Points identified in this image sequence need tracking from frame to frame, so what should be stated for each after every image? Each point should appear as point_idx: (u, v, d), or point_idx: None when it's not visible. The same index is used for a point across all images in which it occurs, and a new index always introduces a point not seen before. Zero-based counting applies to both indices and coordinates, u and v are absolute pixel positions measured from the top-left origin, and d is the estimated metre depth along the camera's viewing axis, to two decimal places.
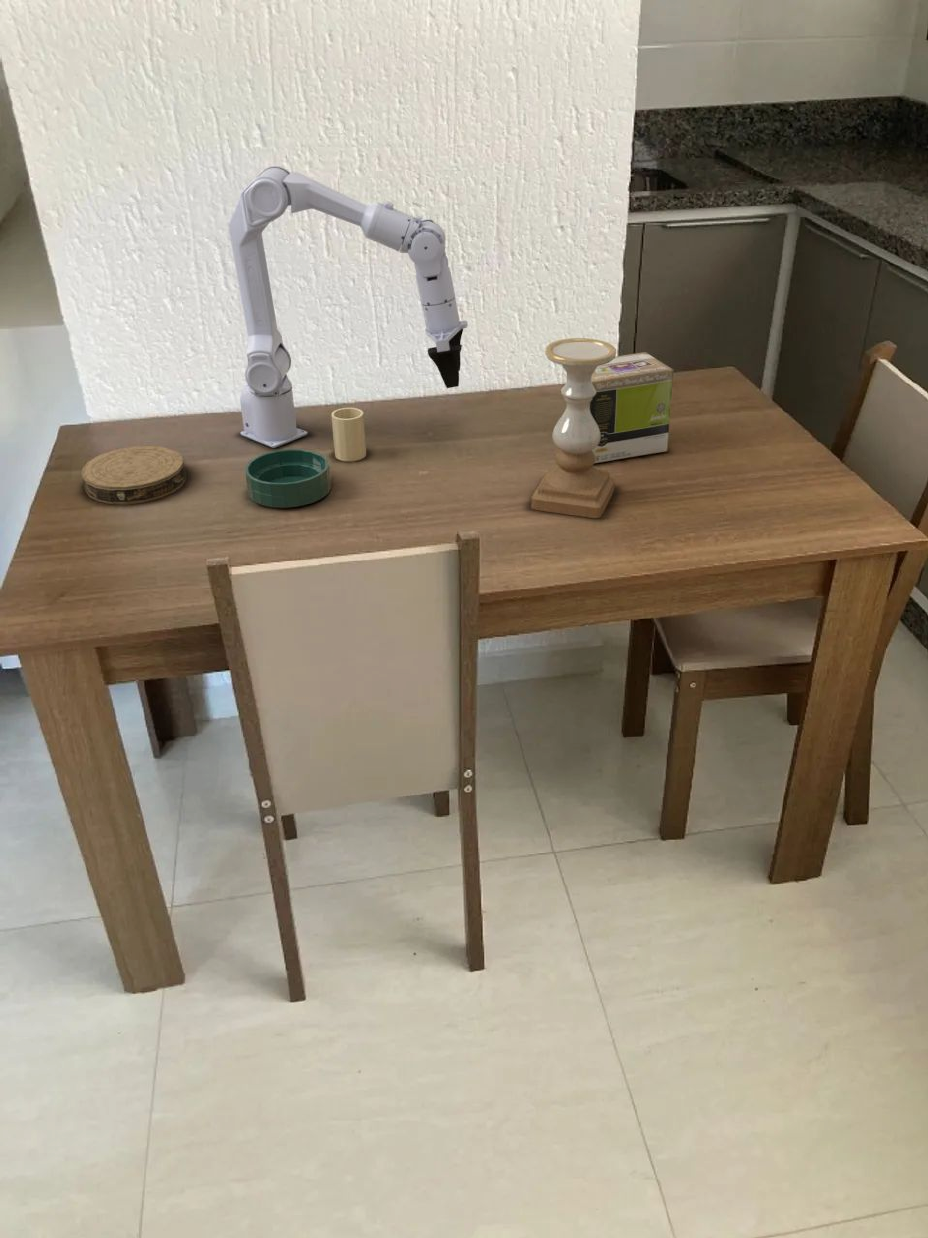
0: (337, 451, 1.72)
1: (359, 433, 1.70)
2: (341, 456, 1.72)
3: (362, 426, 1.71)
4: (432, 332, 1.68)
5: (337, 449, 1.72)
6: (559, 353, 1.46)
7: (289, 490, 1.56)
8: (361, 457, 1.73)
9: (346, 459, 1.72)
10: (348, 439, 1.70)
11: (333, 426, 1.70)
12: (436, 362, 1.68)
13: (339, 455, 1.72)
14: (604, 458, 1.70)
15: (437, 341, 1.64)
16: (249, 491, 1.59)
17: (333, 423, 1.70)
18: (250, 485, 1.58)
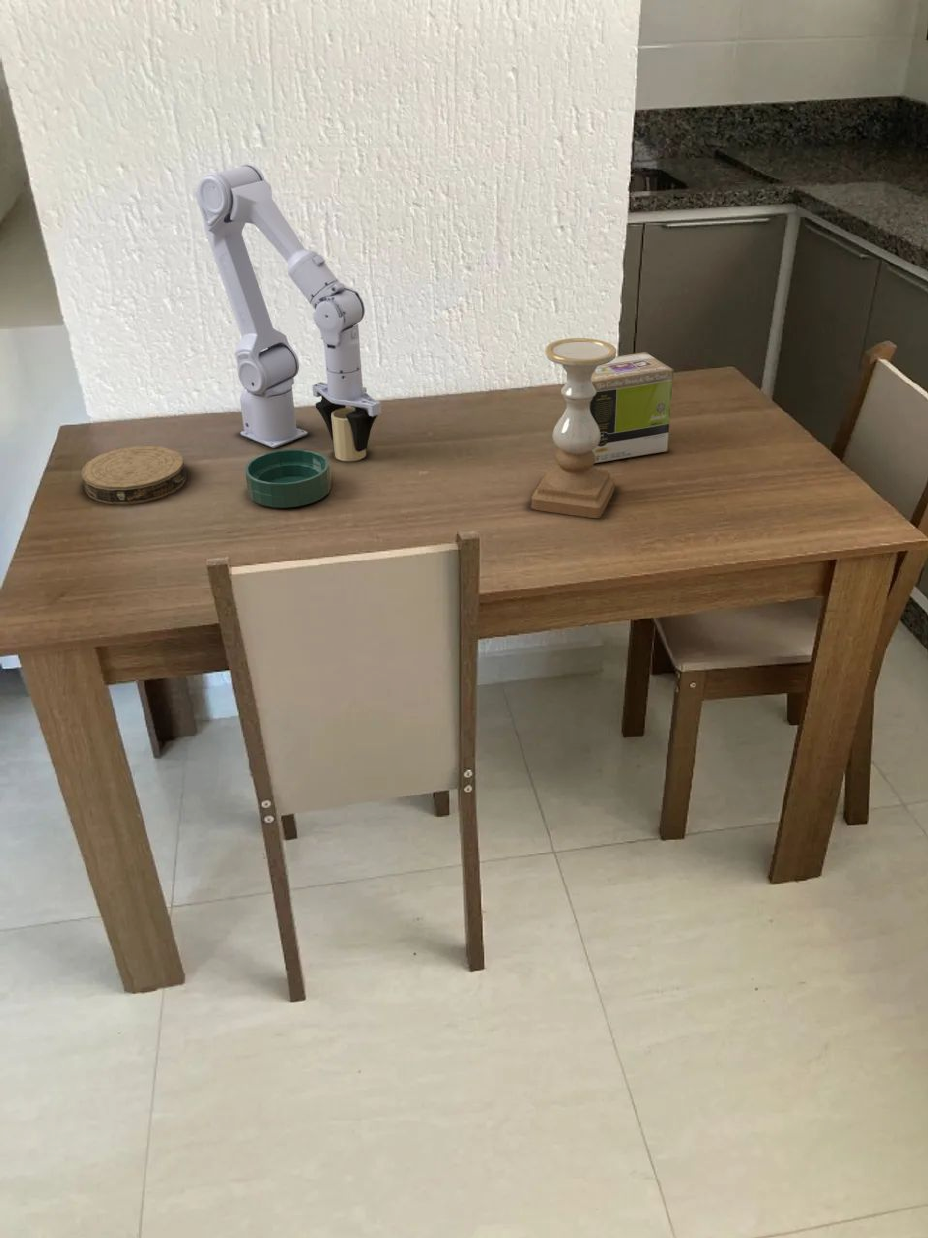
0: (337, 451, 1.72)
1: None
2: (341, 456, 1.72)
3: None
4: (348, 399, 1.66)
5: (337, 449, 1.72)
6: (559, 353, 1.46)
7: (289, 490, 1.56)
8: (361, 457, 1.73)
9: (346, 459, 1.72)
10: (348, 439, 1.70)
11: (333, 426, 1.70)
12: (358, 426, 1.67)
13: (339, 455, 1.72)
14: (604, 458, 1.70)
15: (373, 405, 1.64)
16: (249, 491, 1.59)
17: (333, 423, 1.70)
18: (250, 485, 1.58)
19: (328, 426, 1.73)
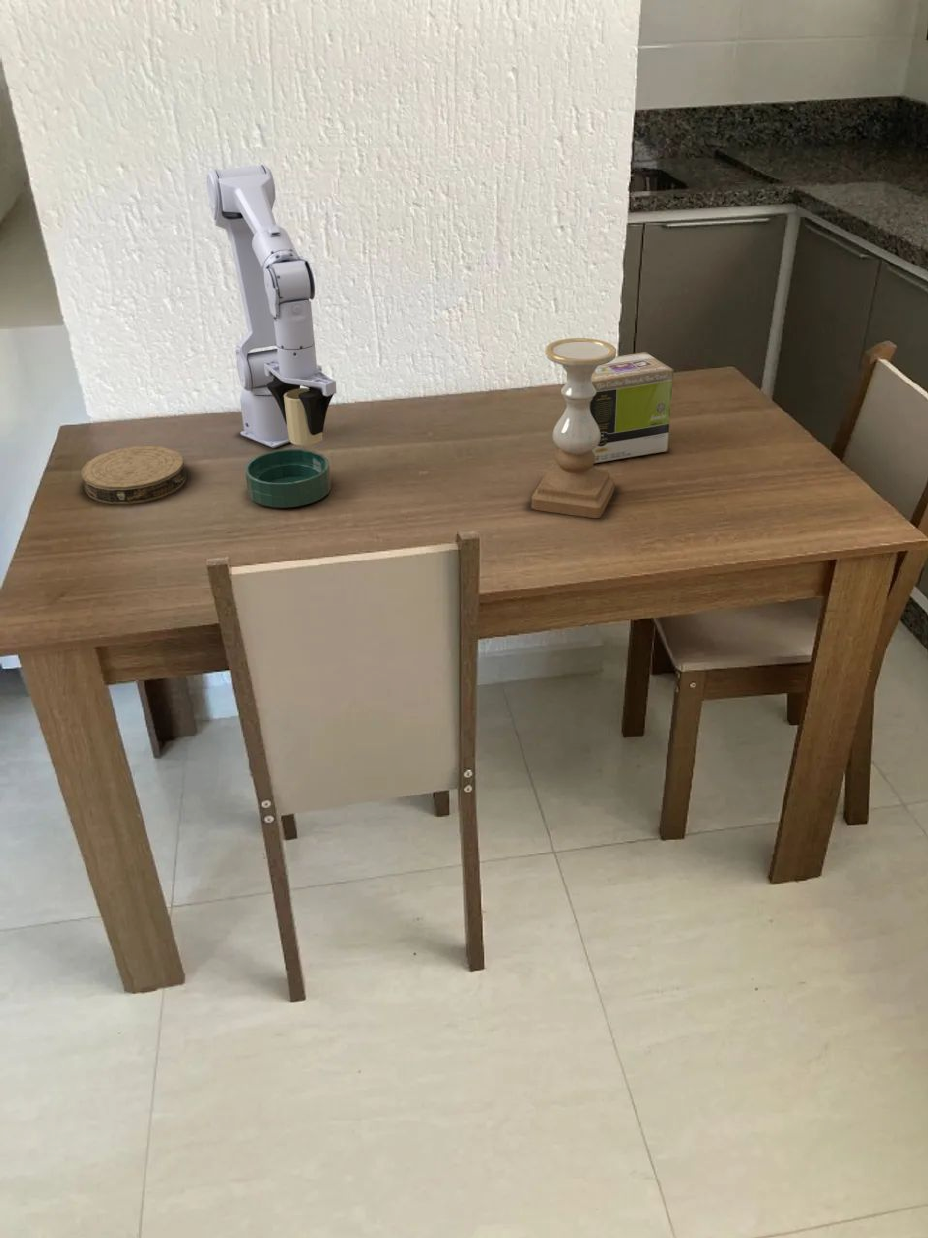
0: (291, 434, 1.60)
1: None
2: (295, 440, 1.60)
3: None
4: (300, 378, 1.54)
5: (291, 432, 1.60)
6: (559, 353, 1.46)
7: (289, 490, 1.56)
8: (317, 441, 1.61)
9: (300, 443, 1.60)
10: (302, 421, 1.58)
11: (286, 407, 1.58)
12: (312, 407, 1.55)
13: (293, 438, 1.60)
14: (604, 458, 1.70)
15: (327, 384, 1.52)
16: (249, 491, 1.59)
17: (286, 404, 1.58)
18: (250, 485, 1.58)
19: (281, 408, 1.61)
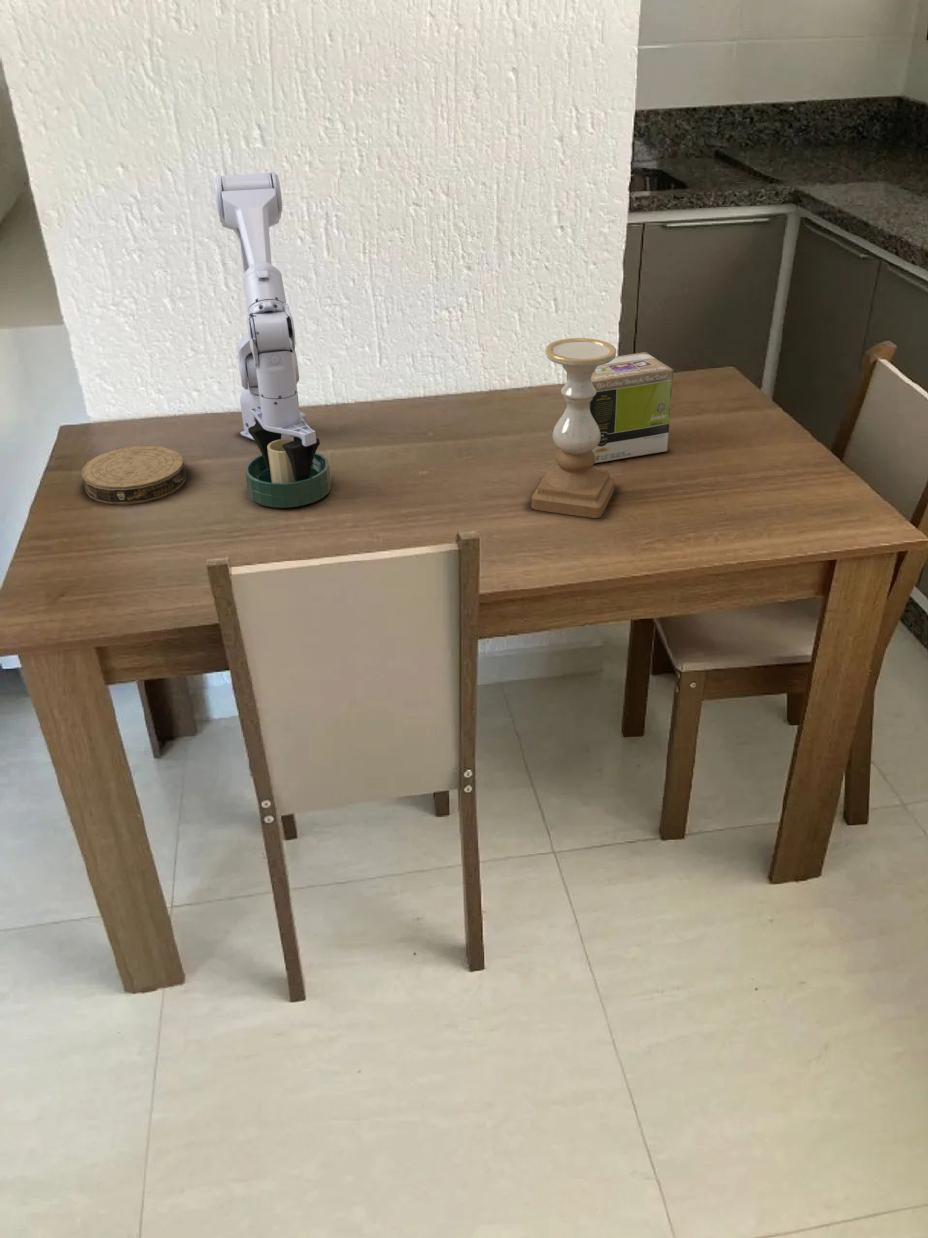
0: None
1: None
2: None
3: None
4: (281, 427, 1.54)
5: None
6: (559, 353, 1.46)
7: (289, 490, 1.56)
8: None
9: None
10: (284, 473, 1.58)
11: (269, 458, 1.59)
12: (296, 458, 1.54)
13: None
14: (604, 458, 1.70)
15: (306, 435, 1.51)
16: (249, 491, 1.59)
17: (269, 455, 1.58)
18: (250, 485, 1.58)
19: (262, 452, 1.61)
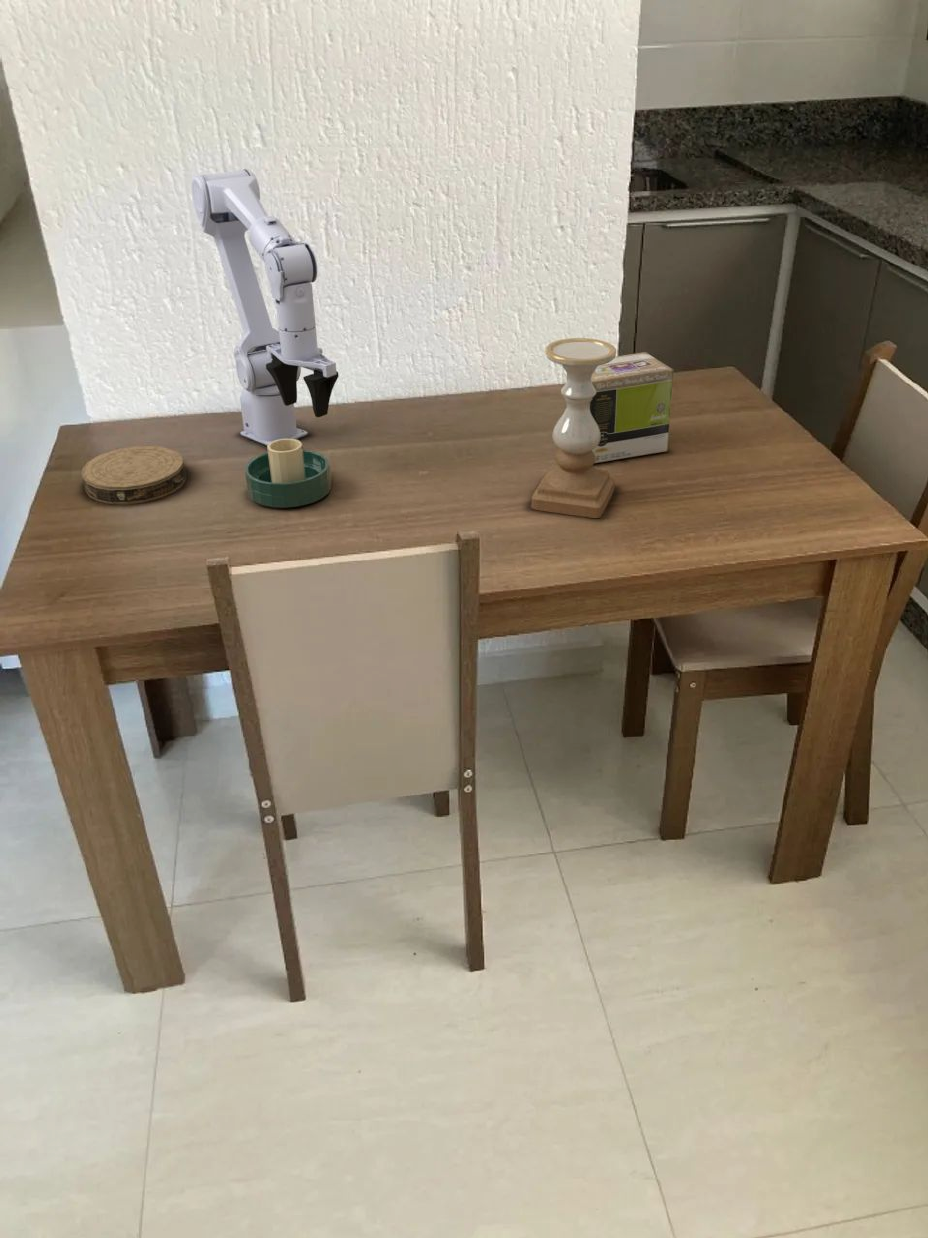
0: None
1: (296, 467, 1.58)
2: None
3: (300, 459, 1.58)
4: (302, 360, 1.58)
5: None
6: (559, 353, 1.46)
7: (289, 490, 1.56)
8: None
9: None
10: (284, 473, 1.58)
11: (269, 458, 1.59)
12: (317, 390, 1.59)
13: None
14: (604, 458, 1.70)
15: (327, 366, 1.56)
16: (249, 491, 1.59)
17: (269, 455, 1.58)
18: (250, 485, 1.58)
19: (279, 388, 1.65)
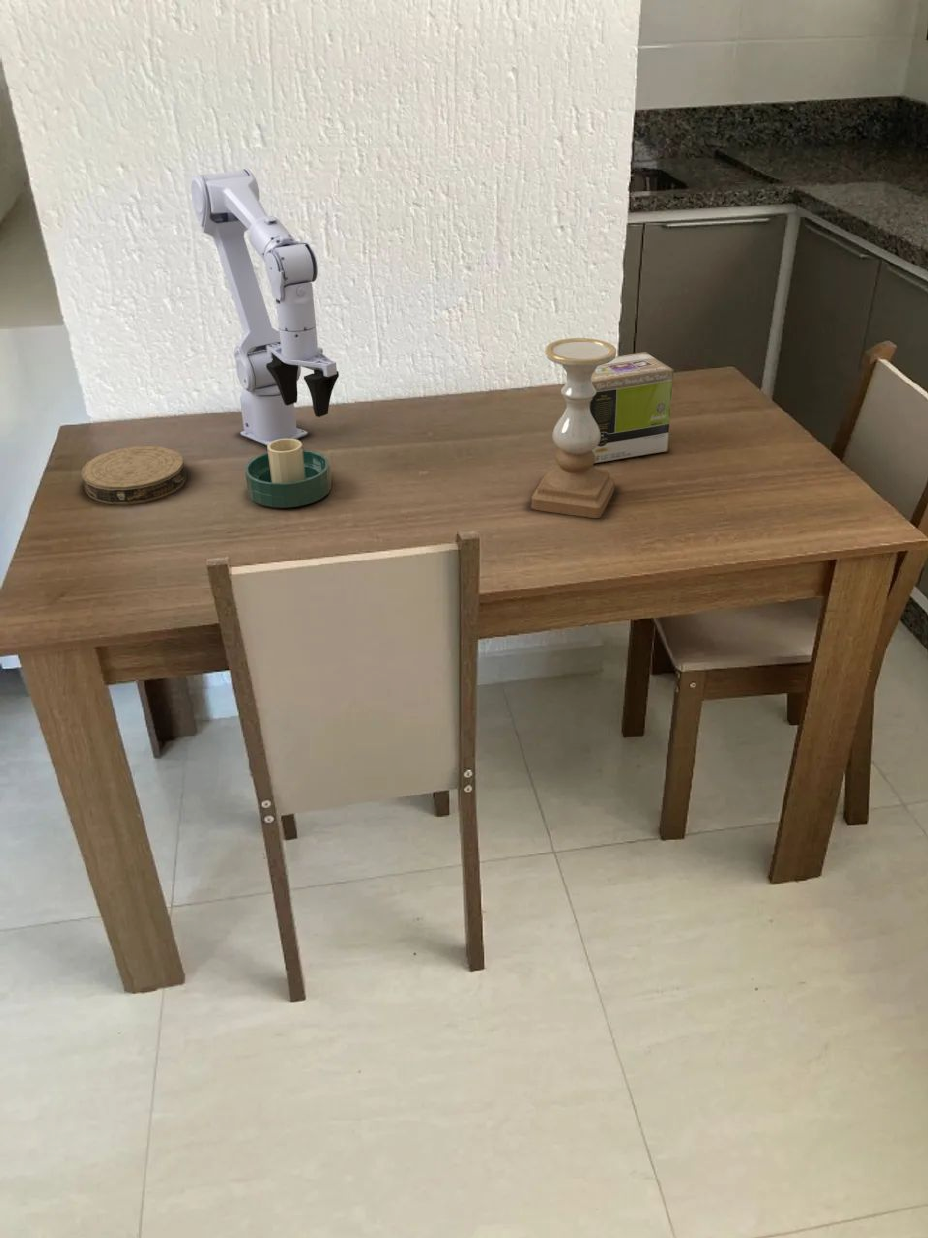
0: None
1: (296, 467, 1.58)
2: None
3: (300, 459, 1.58)
4: (302, 359, 1.58)
5: None
6: (559, 353, 1.46)
7: (289, 490, 1.56)
8: None
9: None
10: (284, 473, 1.58)
11: (269, 458, 1.59)
12: (317, 389, 1.59)
13: None
14: (604, 458, 1.70)
15: (328, 365, 1.56)
16: (249, 491, 1.59)
17: (269, 455, 1.58)
18: (250, 485, 1.58)
19: (280, 388, 1.65)
